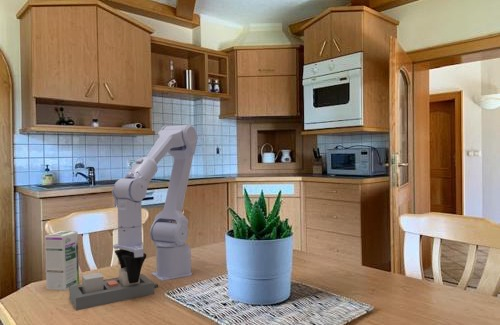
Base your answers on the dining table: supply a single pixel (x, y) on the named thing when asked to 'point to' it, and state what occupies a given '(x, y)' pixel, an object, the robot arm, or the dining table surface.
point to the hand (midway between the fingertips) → (130, 279)
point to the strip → (107, 291)
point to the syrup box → (62, 260)
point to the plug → (125, 278)
